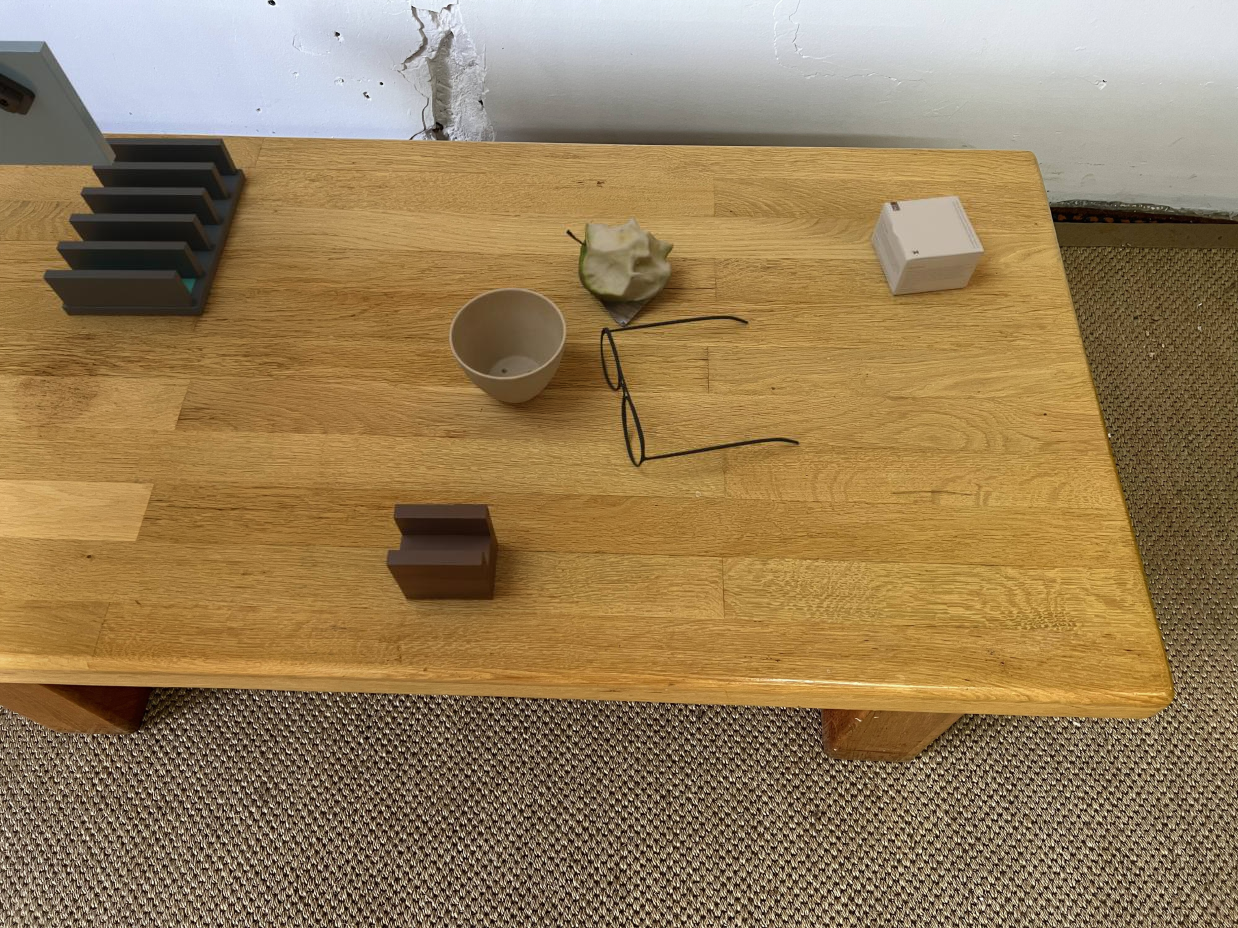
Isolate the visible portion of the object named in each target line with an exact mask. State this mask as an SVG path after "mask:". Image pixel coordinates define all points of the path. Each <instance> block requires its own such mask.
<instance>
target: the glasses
mask: <svg viewBox="0 0 1238 928" xmlns="http://www.w3.org/2000/svg"><path fill="white" fill-rule="evenodd" d="M713 320H731V321H735V322H738V323H743V324H749V322H748V320H746V319H743V318H740V317H737V316H735V315H734V316H733V315H707V316H697V317H690V318H682V319H675V320H666V321H659V322H652V323H645V324H639V325H638V324H637V325H630V326H624V327H618V328H613V329H609V327H607V326H606V327H603V328H602V329H601V332H600V338H599V339H600V343H599V349H600V360H601V367H602V371H603V375H604V378H605V380H606V383H607V385H608V386H609V388H610V389H611V390H612V391H614V392H618V391H620V390H622V397H621V410H620V411H621V422H622V429H623V434H624V440H625V445H626V451H627V453H628V456H629V459H630V461H631V463H632V465H633V466H634V467H636V468H639V467H641V465H643V463H645V462H647V461H653V460H660V459H667V458H674V457H680V456H688V455H693V454H700V453H707V452H711V451H717V450H723V449H729V448H736V447H742V446H749V445H755V444H756V445H757V444H762V443H773V442H774V443H775V442H781V443H789V444H795V445H799V444H800V443H799V440H795V439H791V438H787V437H766V438H757V439H752V440H745V441H739V442H732V443H725V444H720V445H714V446H708V447H702V448H695V449H690V450H685V451H677V452H671V453H666V454H660V455H653V456H646V442H645V441H646V440H645V435H644V432H643V428H642V424H641V422H640V417H639V415H638V413H637V409H636V406H635V405H634V402H633V400H632V397H631V395H630V391H629V389H628V386H627V382H626V380H625V376H624V373H623V370H622V367H621V362H620V357H619V354H618V351H617V350H618V349H617V347H616V344H615V340H614V337H613V336H612V333H617V332H624V331H625V332H627V331H632V330H640V329H648V328H655V327H656V328H657V327H664V326H669V325H678V324H686V323H695V322H703V321H713ZM605 334H606V337H607V339H608V342H609V345H610V348H611V350H612V354H613V358H614V362H615V366H616V373H617V386H616V387H615V386H614V384H613V383H612V381H611V379H610V376H609V374H608V371H607V365H606V363H605V362H606V361H605V355H604V347H603V346H604V345H603V341H604V336H605ZM627 403H628V406H629V408H630V411H631V414H632V417H633V421H634V423H635V427H636V432H637V436H638V440H639V446H640V458H639V462H638V464H637V462H636V461H635V458H634V455H633V452H632V448H631V444H630V439H629V438H630V437H629V432H628V424H627V423H628V420H627Z"/></svg>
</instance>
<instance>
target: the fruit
mask: <svg viewBox="0 0 1238 928" xmlns="http://www.w3.org/2000/svg"><path fill="white" fill-rule="evenodd" d="M566 234H567V235H568V236H569V237H570V238H571V239H573V240H574V241H576V242H577V243H579V244H580V245H581V246H580V248H579V249H580V250H579V252H580V253H579V257H578V265H577V266H578V270H577V272H578V279H579V280H580V283H581V286H582V287H583V288H584V289H586V291H588V292H589V293H590V294H591V295H592V296H593V297H595V298H596V299H597V300H598V302H600V303H601V304H602V306H603V307H604V308H605V310H606V311H607V312H608V314H609V315H610V317H611V318H612V319H613V320H614V321H615V322H616V323H618V324H619V325H620V326H624V327H625V326H626V325H627V324H628V323H629V322H630V321H631V320H632V319H633V318H634V317H635V316H636V315H637V313H638V312H639V311H640V310H641V309H642V308H643V307H644V306H645V305H646V304H647V303H648V302H649V301H650V300H651V299H653V298H654V297H655V296H657V295H658V294H660V293H661V292H662V291H663V290H664V288H665V287H666V286H667V284H668V283H669V281H670V279H671V277H672V266H671V263H670V262H668V261H667V260H666V259H667V257H668V256H669V254H670V253H671V252H672V251H673V248H674V245H675V244H674V242H668V241H665V240H660V239H657V238H656V237H655V235H654V234H652V233H651V231H649V230H644V229H642V228H641V227H640V225H639V223H638V221H637V219H636V217H630V218H629V220H628V221H627V222H626V223H624V224H618V225H616V226H612V225H611V226H610V225H607V224H605V223H601V222H600V223H596V222H586V223H585V224H584V240H583V241H582V240H580V239H579V238H577V237H576V235H574V233H572V231H571V230H570V229H567V230H566Z"/></svg>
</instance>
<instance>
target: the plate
mask: <svg viewBox="0 0 1238 928" xmlns="http://www.w3.org/2000/svg"><path fill="white" fill-rule="evenodd" d="M58 61H59V60H58V59H57V58H56V56H55V54H54V53H53V52H52V49H51V48H50V47H49V45H48V44H47V42H46V41H45V40H0V73H1V74H3V75H5V76H6V77H8V78H10V79H12V80H13V81H15V82H17V83H19V84H21V85H22V86H24V87H26V88H28V89H30V90H31V91H32V92H33V93H34V94H35V99H34V101H33V103H32V105H31V107H30V109H29V111H28V113H27V114H26V115H20V114H18V113H15V114H14V113H10V112H7V111H5V110H3V109H1V108H0V166H57V167H59V166H64V167H65V166H66V167H69V166H70V167H71V166H72V167H93V166H112V164H113V162H114V160H115V157H116V155H115V154H114V152H113V150H112V149H111V147H110V145H109V144H108V142H107V141H106V139H105V138H106V137H105V136H104V134H103V133H102V131H101V129H100V128H99V126H98V124H97V122H96V121H95V120H94V118H93V116H92V114H91V113H90V111H89V110H88V108H87V106H86V105H85V104H84V102H83V100H82V98H81V97H80V95H79V94H78V92H77V91H76V89H75V87H74V85H73V84H72V82H71V80H70V79H69V78H68V76H67V74H66V72H65V71H64V69H63V68H62V66H61V64H60V63H59V62H58Z"/></svg>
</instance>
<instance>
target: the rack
mask: <svg viewBox="0 0 1238 928" xmlns="http://www.w3.org/2000/svg"><path fill="white" fill-rule="evenodd" d="M105 139H106V141H107V142H108V144H109V145H110V147H111V149H112V150H113V152H114V154H115V155H116V157H115V160H114V162H113V164H112V166H91V170H92V171H93V173H94V174H95V176H96V177H97V179H98V180H99V182H100V183H101V185H102V186H83V187H82V189H81V191H80V196H81V197H82V199H83V200H84V202H85V203H86V205H87V207H89V209H90V210H91V212H92V213H71V214H70V216H69V219H68V223H69V224H70V226H72V228H73V229H74V231H76V233H77V235H79V237H80V239H81V240H59V241H58V243H57V245H56V248H55V249H56V250H57V253H59V255H60V256H61V257H62V258H63V260H64V261H65V262H66V264H67V265H68V266H69V267H70V269H46V270H45V272H44V274H43V277H42V279H43V280H44V281H45V283H46V284H48V286H49V287H50V289H52V291H53V292H54V293H55V294H56V295H57V297H58V298H59V299H60V300H61V301H62V305H61V309H62V310H63V311H64V312H65V313H66V315H67V316H151V317H152V316H154V317H155V316H157V317H158V316H164V317H165V316H167V317H168V316H170V317H173V316H175V317H186V316H187V317H202V316H203V314H204V310H205V308H206V304H207V301H208V298H209V294H210V291H211V288H212V285H213V282H214V279H215V276H216V273H217V269H218V267H219V263H220V261H221V257H222V253H223V250H224V248H225V244H226V241H227V238H228V235H229V232H230V229H231V225H232V223H233V219H234V216H235V213H236V210H237V206H238V204H239V200H240V198H241V194H242V192H243V188H244V185H245V181H246V178H247V177H246V174H245V173H244V170H243V169H242V168H237V166H236V164H235V162H234V160H233V158H232V156H231V154H230V152H229V150H228V148H227V146H226V143H225V141H224V139H223V138H219V137H218V138H215V137H214V138H213V137H212V138H211V137H209V138H206V137H203V138H202V137H105Z"/></svg>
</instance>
